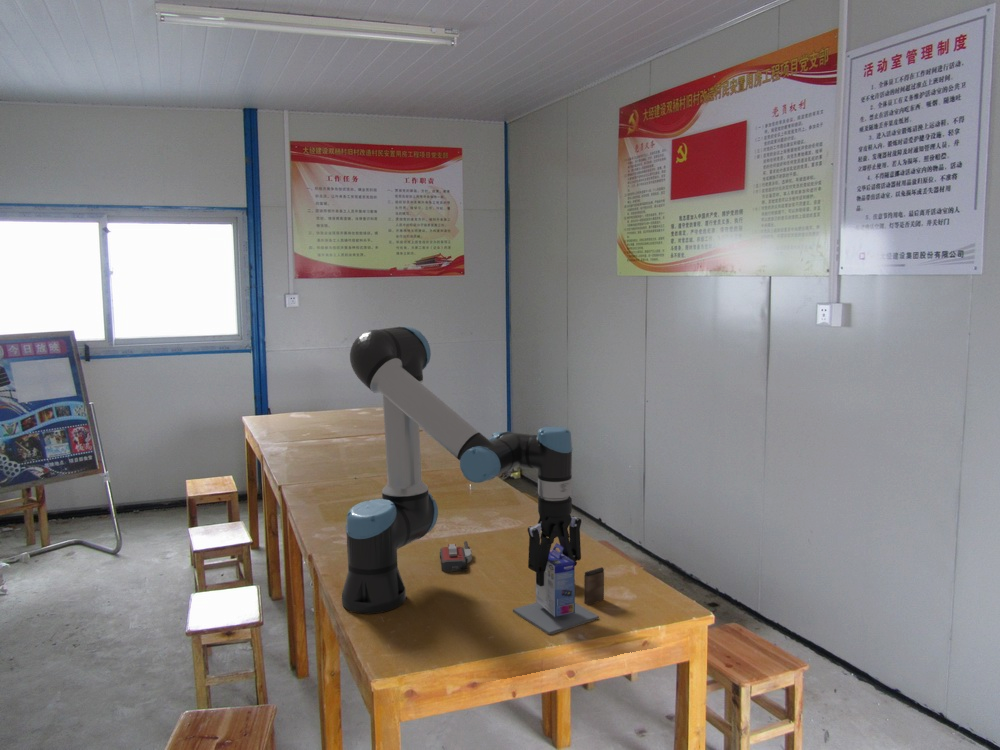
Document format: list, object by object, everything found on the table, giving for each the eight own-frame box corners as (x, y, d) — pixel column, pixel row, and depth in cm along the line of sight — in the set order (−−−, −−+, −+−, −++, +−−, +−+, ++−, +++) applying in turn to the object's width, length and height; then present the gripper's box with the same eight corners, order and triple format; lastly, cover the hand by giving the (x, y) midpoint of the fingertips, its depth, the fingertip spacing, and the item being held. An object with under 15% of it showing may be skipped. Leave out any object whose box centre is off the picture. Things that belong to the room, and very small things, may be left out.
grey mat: (549, 634, 166) (549, 632, 165) (512, 611, 177) (512, 609, 177) (598, 618, 173) (598, 616, 173) (560, 597, 185) (560, 594, 185)
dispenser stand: (587, 604, 180) (587, 572, 179) (551, 585, 192) (551, 554, 191) (603, 599, 183) (604, 568, 182) (567, 580, 195) (567, 550, 194)
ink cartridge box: (577, 613, 172) (575, 551, 169) (555, 618, 169) (553, 556, 167) (556, 596, 181) (554, 537, 178) (535, 601, 178) (533, 542, 176)
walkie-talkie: (474, 573, 201) (469, 546, 221) (474, 557, 201) (469, 531, 221) (441, 575, 201) (438, 548, 220) (440, 558, 200) (438, 533, 220)
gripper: (530, 507, 163) (530, 611, 166) (598, 493, 173) (597, 590, 177) (510, 499, 170) (511, 599, 173) (577, 485, 180) (577, 580, 183)
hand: (555, 594), depth 175 cm, fingers closed on ink cartridge box, 6 cm apart
